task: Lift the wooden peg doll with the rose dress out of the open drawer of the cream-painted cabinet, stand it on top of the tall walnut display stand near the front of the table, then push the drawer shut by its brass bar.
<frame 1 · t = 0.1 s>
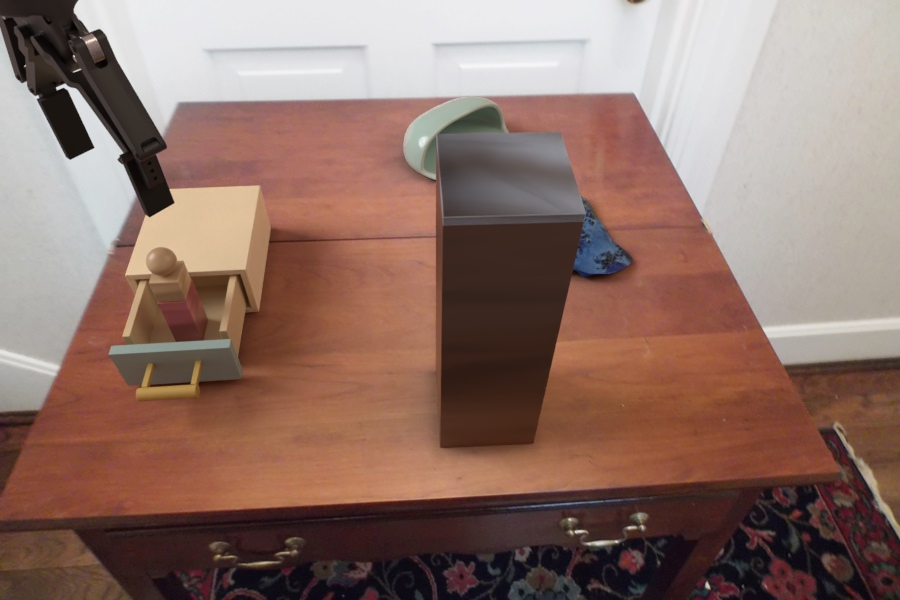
hand: (118, 179, 63), 22 cm above the table, tool pointing down, fingers open, 13 cm apart
doll: (192, 331, 76), point 2 cm above the table, touching drawer
stand: (506, 171, 48), on the table
planter: (458, 151, 104), on the table
cabinet: (213, 270, 85), on the table
drawer: (185, 331, 73), point 4 cm above the table, slide at 9.5 cm, touching doll
rock: (567, 242, 90), on the table
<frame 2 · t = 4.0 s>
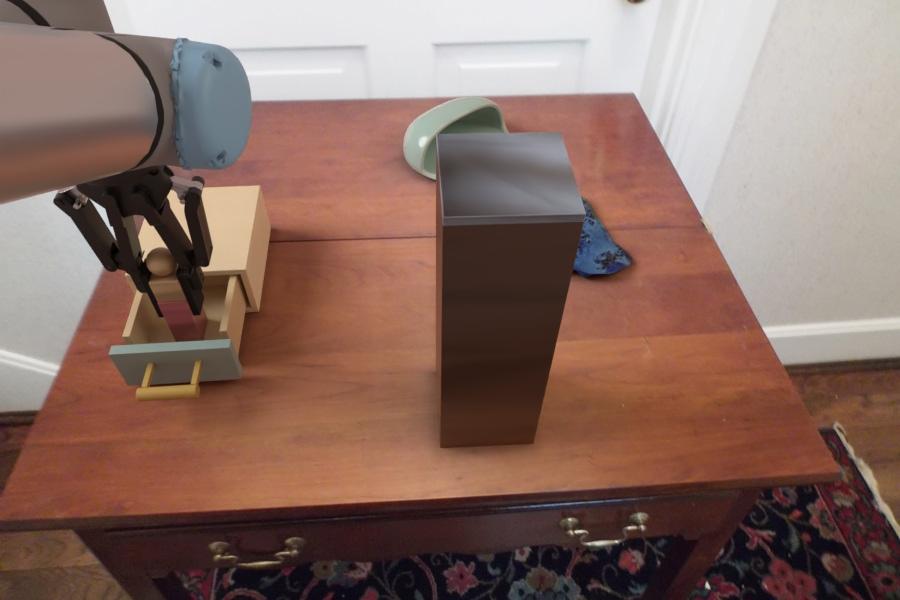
hand: (181, 306, 72), 6 cm above the table, tool pointing down, fingers closed on doll, 3 cm apart
doll: (192, 331, 76), point 2 cm above the table, touching drawer, gripper
everything else where it was.
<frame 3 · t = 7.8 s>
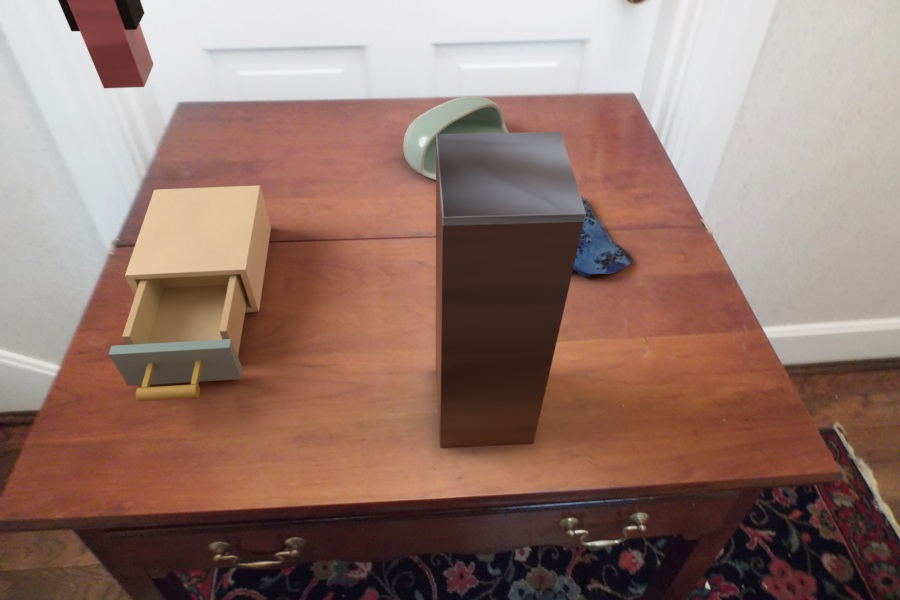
hand: (108, 21, 47), 39 cm above the table, tool pointing down, fingers closed on doll, 3 cm apart
doll: (129, 76, 50), point 35 cm above the table, touching gripper
drawer: (185, 331, 73), point 4 cm above the table, slide at 9.5 cm
everything else where it was.
when the fingers open (36 cm above the table, at t = 11.5 s): doll stays where it is, resting on stand.
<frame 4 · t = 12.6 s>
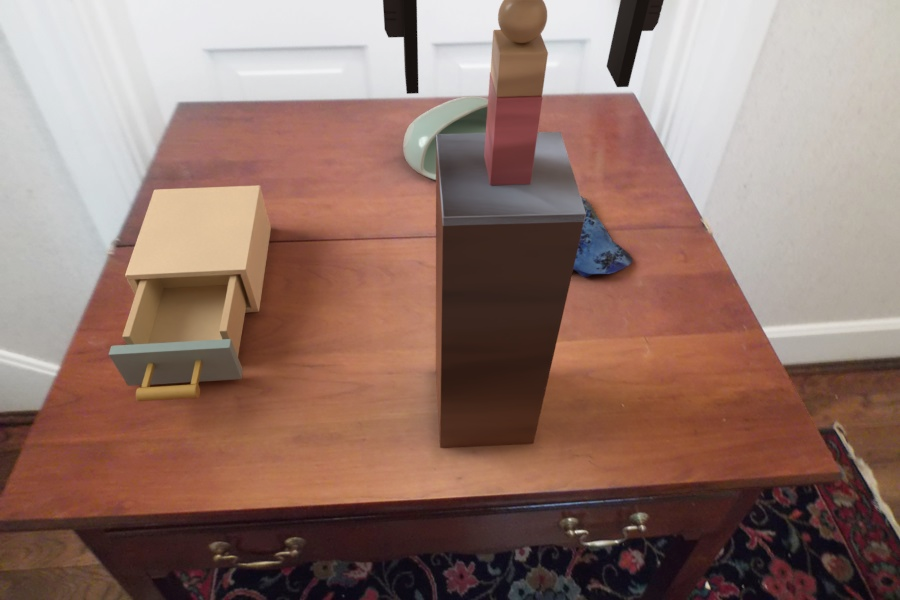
hand: (515, 80, 42), 39 cm above the table, tool pointing down, fingers open, 13 cm apart
doll: (506, 170, 48), point 32 cm above the table, touching stand
everything else where it was.
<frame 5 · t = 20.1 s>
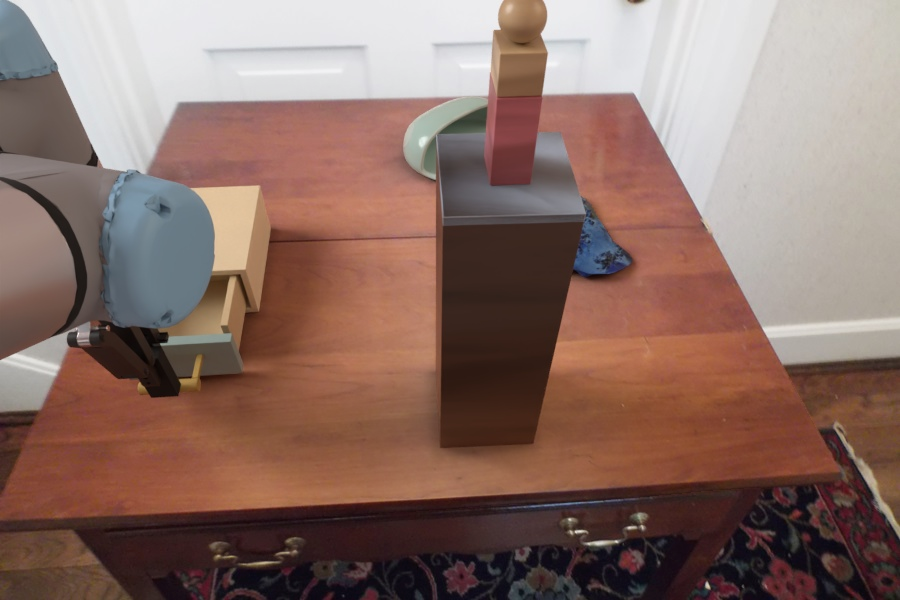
hand: (166, 390, 66), 5 cm above the table, tool pointing down, fingers closed
drawer: (187, 326, 74), point 4 cm above the table, slide at 8.7 cm, touching gripper
everything else where it was.
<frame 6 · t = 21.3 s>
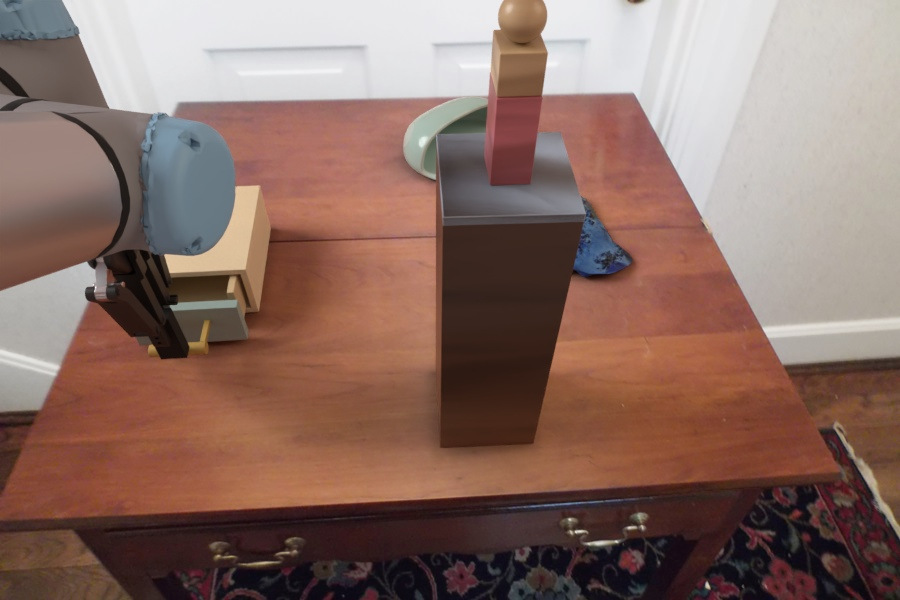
hand: (175, 352, 69), 5 cm above the table, tool pointing down, fingers closed
drawer: (194, 294, 77), point 4 cm above the table, slide at 3.8 cm, touching gripper
everything else where it was.
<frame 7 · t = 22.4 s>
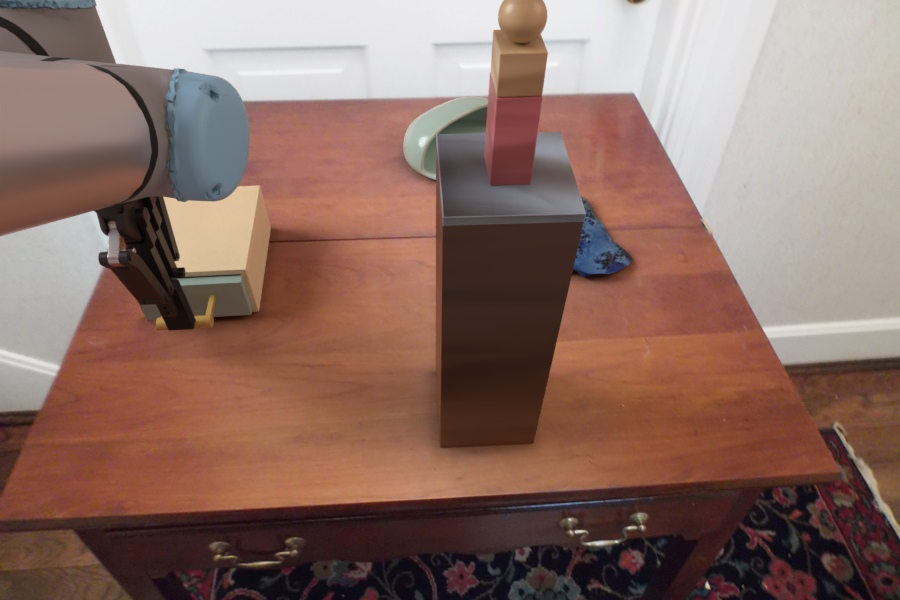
hand: (182, 325, 72), 5 cm above the table, tool pointing down, fingers closed
drawer: (200, 271, 79), point 4 cm above the table, slide at 0.0 cm, touching cabinet, gripper
everything else where it was.
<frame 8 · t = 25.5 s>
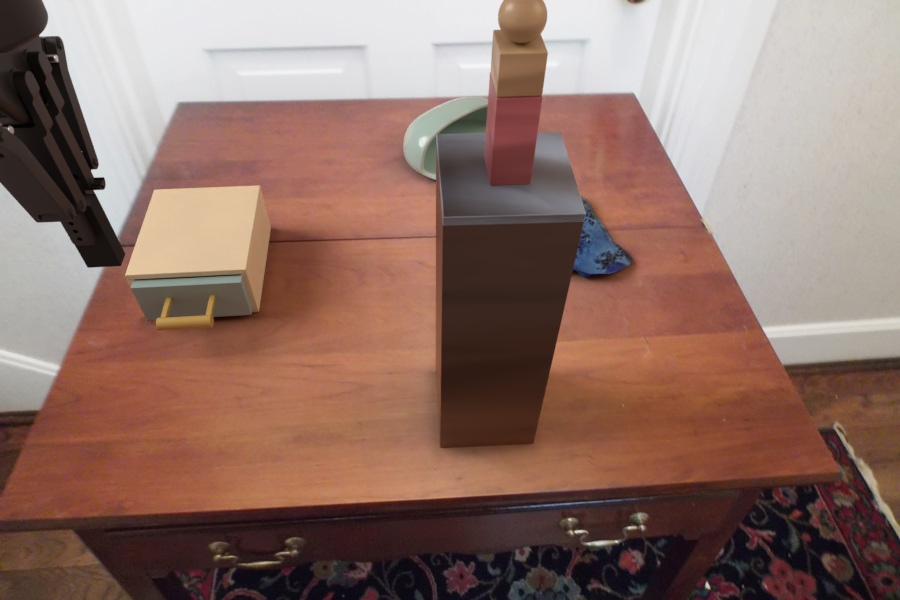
hand: (106, 260, 54), 22 cm above the table, tool pointing down, fingers closed
drawer: (200, 271, 79), point 4 cm above the table, slide at 0.0 cm, touching cabinet
everything else where it was.
at the end: doll inside the target area on the stand (0.1 cm from its centre), point 0.0 cm above the stand's base; doll tilted 0°; drawer slide at 0.0 cm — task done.
